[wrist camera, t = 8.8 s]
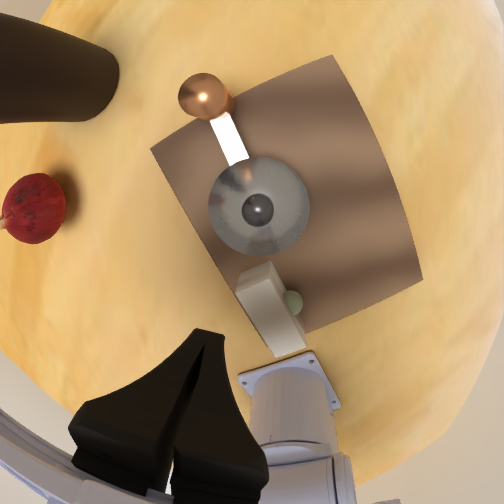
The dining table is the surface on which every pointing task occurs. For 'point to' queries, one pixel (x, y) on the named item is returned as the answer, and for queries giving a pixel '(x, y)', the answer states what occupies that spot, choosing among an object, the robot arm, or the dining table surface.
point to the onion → (33, 208)
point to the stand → (321, 205)
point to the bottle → (51, 74)
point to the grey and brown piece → (246, 180)
